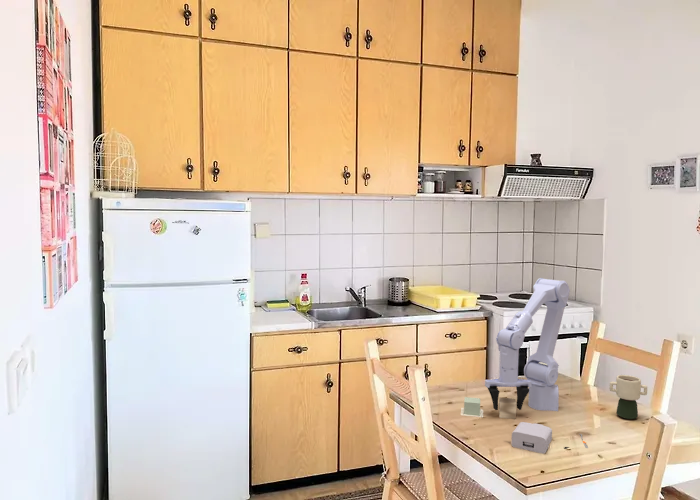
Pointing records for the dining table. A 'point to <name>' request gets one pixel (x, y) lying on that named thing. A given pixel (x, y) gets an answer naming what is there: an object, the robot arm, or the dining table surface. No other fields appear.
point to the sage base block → (472, 406)
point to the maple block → (507, 408)
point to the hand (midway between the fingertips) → (507, 408)
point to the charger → (532, 437)
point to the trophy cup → (628, 395)
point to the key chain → (583, 442)
